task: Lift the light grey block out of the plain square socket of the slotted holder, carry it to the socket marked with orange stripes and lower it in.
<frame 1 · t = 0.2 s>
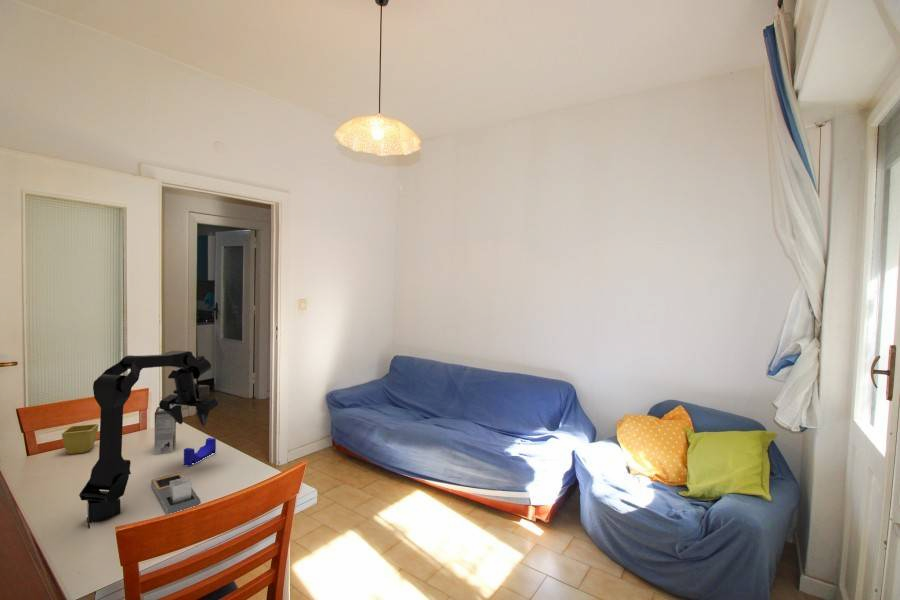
hand: (192, 424, 150), 15 cm above the table, tool pointing down, fingers open, 9 cm apart
blue notched block: (198, 459, 157), on the table
coffee box: (165, 449, 165), on the table
flower pot: (80, 451, 161), on the table
slotted holder: (174, 499, 128), on the table
light grey block: (180, 504, 123), point 1 cm above the table, touching slotted holder
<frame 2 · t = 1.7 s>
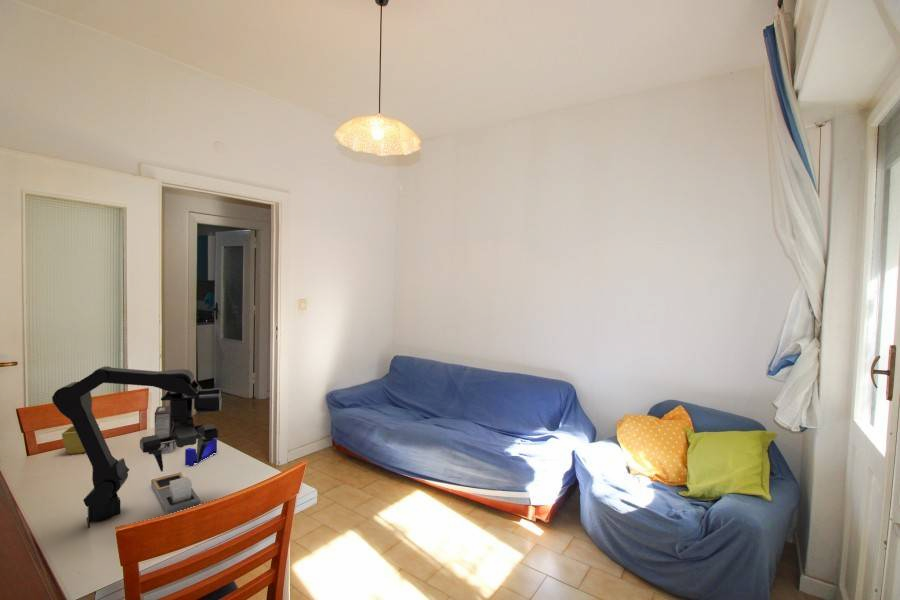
hand: (180, 466, 123), 12 cm above the table, tool pointing down, fingers open, 9 cm apart
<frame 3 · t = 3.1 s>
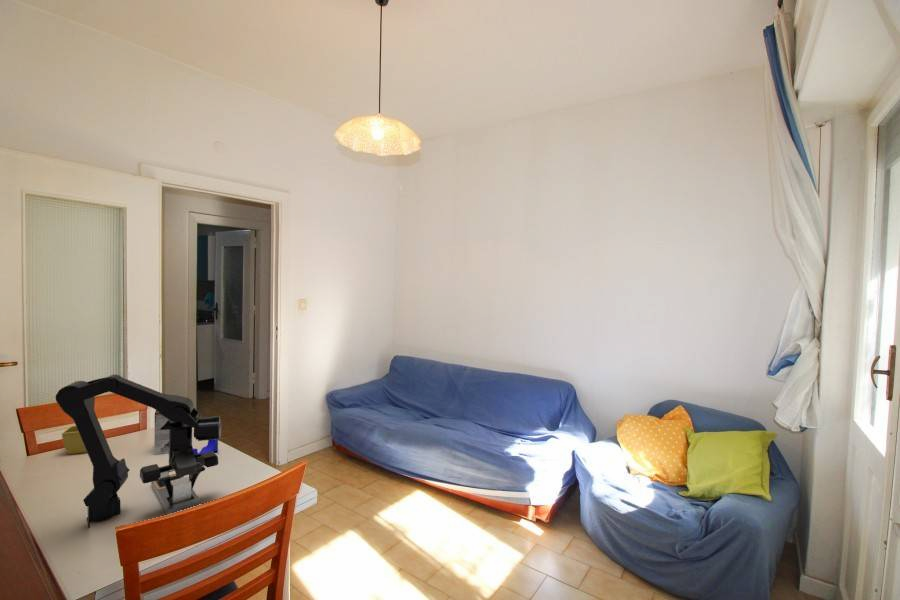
hand: (180, 494, 123), 4 cm above the table, tool pointing down, fingers closed on light grey block, 4 cm apart
light grey block: (180, 504, 123), point 1 cm above the table, touching gripper, slotted holder
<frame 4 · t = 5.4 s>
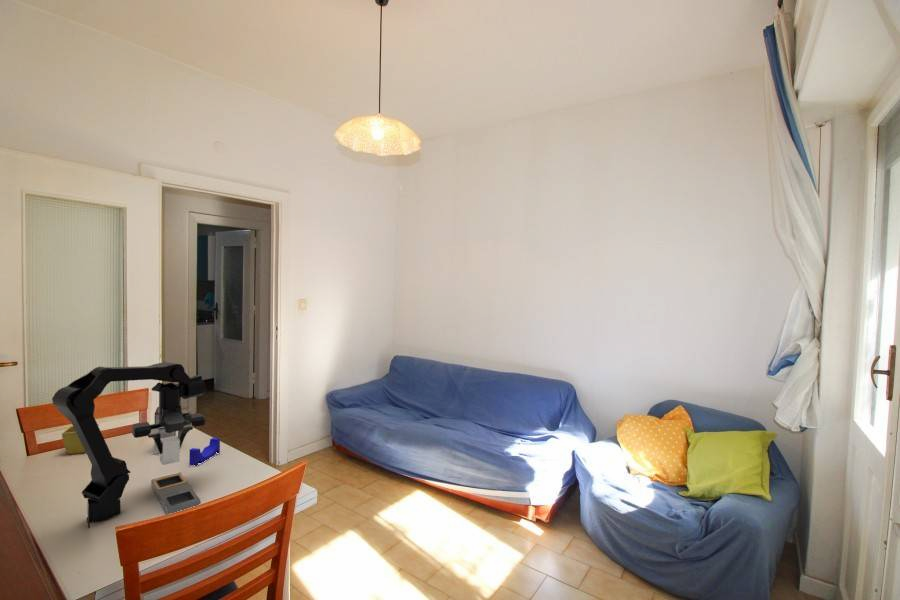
hand: (169, 451, 133), 13 cm above the table, tool pointing down, fingers closed on light grey block, 4 cm apart
light grey block: (169, 460, 133), point 10 cm above the table, touching gripper
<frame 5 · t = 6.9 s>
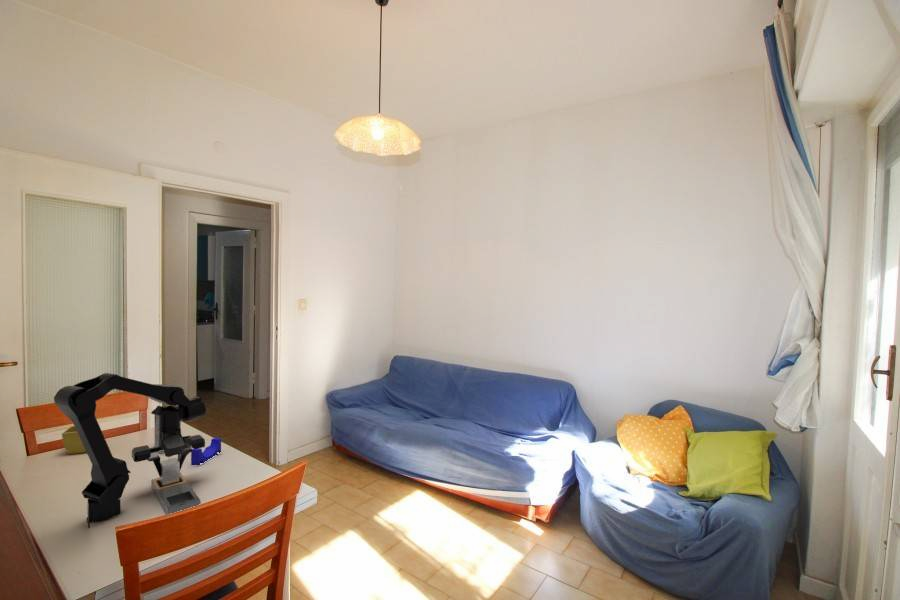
hand: (169, 474, 133), 5 cm above the table, tool pointing down, fingers closed on light grey block, 4 cm apart
light grey block: (169, 483, 133), point 2 cm above the table, touching gripper
when the fingers open (5 cm above the table, at t = 7.8 s): light grey block stays where it is, resting on slotted holder.
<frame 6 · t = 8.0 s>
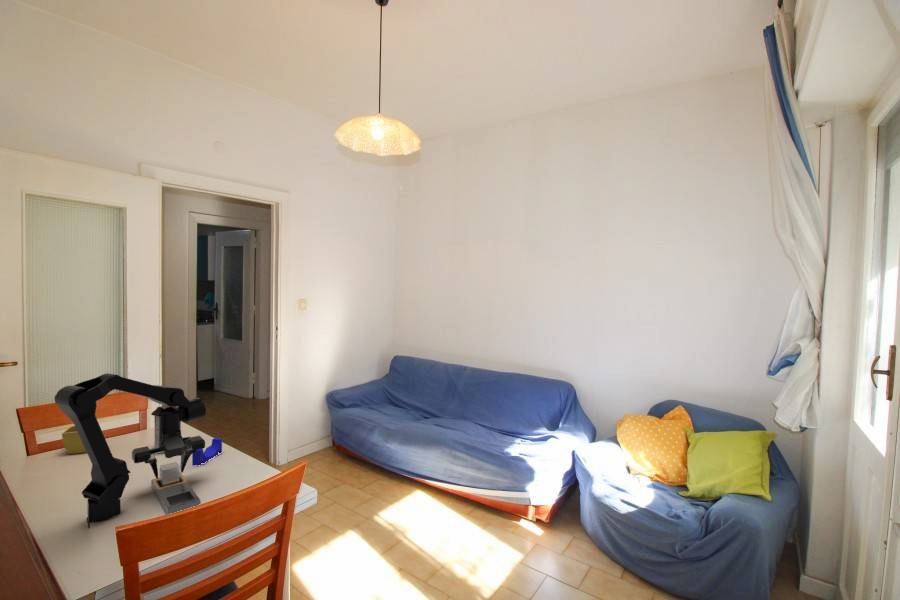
hand: (169, 475, 133), 5 cm above the table, tool pointing down, fingers open, 6 cm apart
light grey block: (169, 487, 133), point 1 cm above the table, touching slotted holder
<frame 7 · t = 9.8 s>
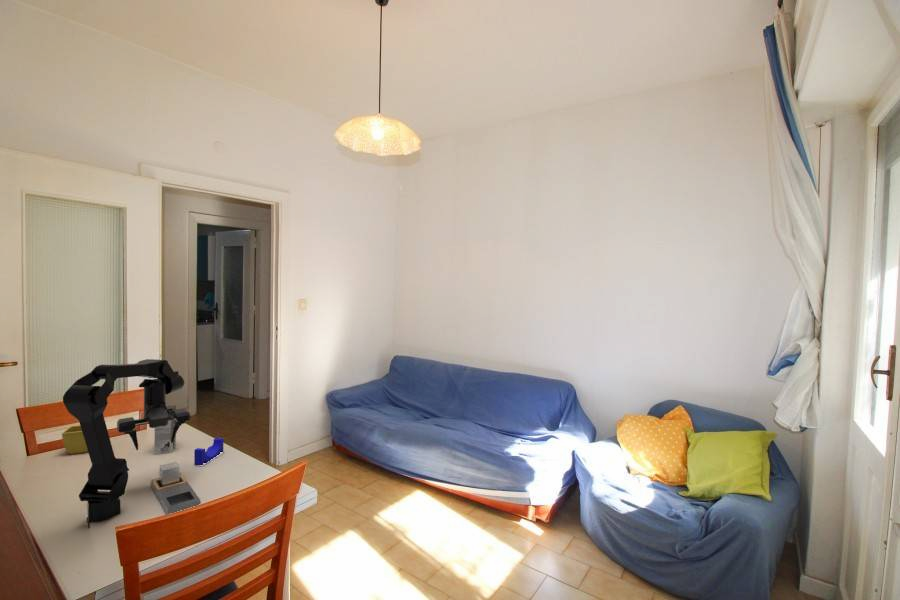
hand: (154, 446, 136), 13 cm above the table, tool pointing down, fingers open, 9 cm apart
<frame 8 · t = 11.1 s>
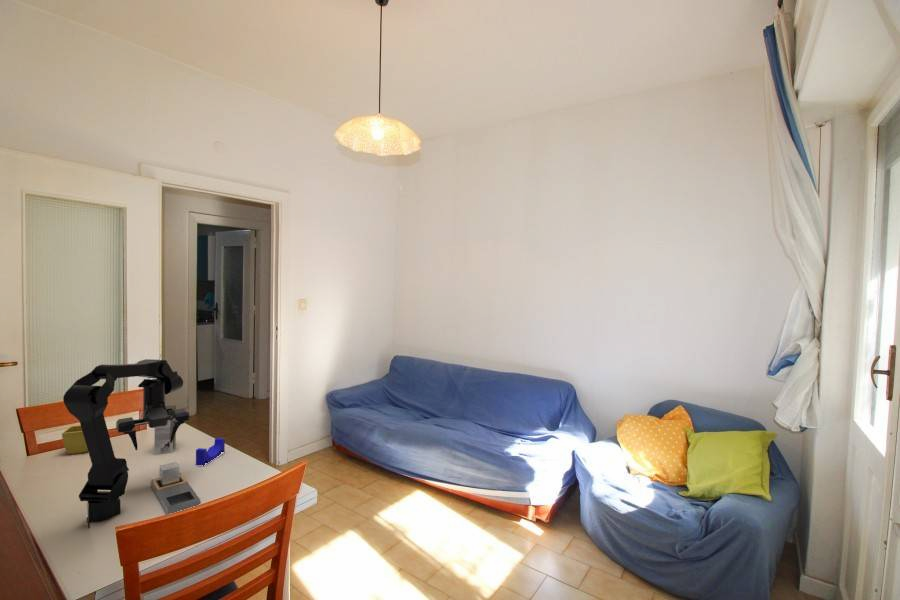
hand: (153, 446, 136), 13 cm above the table, tool pointing down, fingers open, 9 cm apart
at the end: light grey block 0.0 cm from the target spot on the slotted holder, point 1.0 cm above the slotted holder's base; light grey block tilted 0°; the gripper is holding nothing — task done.
